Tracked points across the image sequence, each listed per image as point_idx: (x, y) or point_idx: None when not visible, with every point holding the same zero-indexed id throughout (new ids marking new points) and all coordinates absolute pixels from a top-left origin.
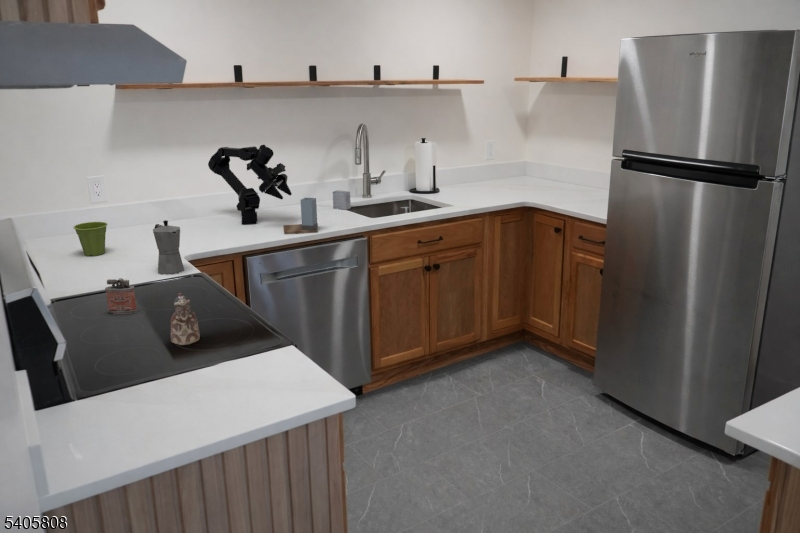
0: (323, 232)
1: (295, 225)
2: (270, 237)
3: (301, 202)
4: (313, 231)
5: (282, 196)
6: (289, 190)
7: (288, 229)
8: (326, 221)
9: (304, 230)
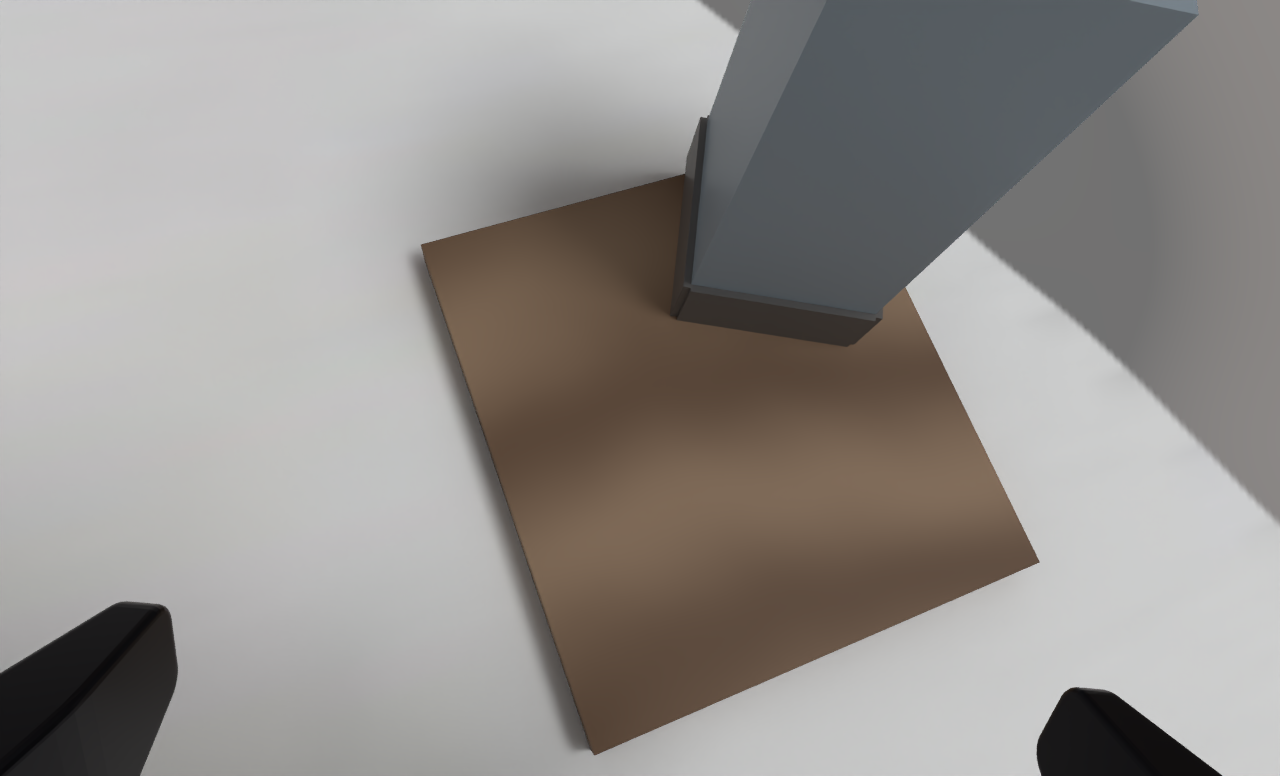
0: None
1: (594, 520)
2: (1231, 715)
3: (1137, 48)
4: None
5: (1112, 727)
6: (2, 740)
7: (878, 549)
8: (110, 156)
9: None
